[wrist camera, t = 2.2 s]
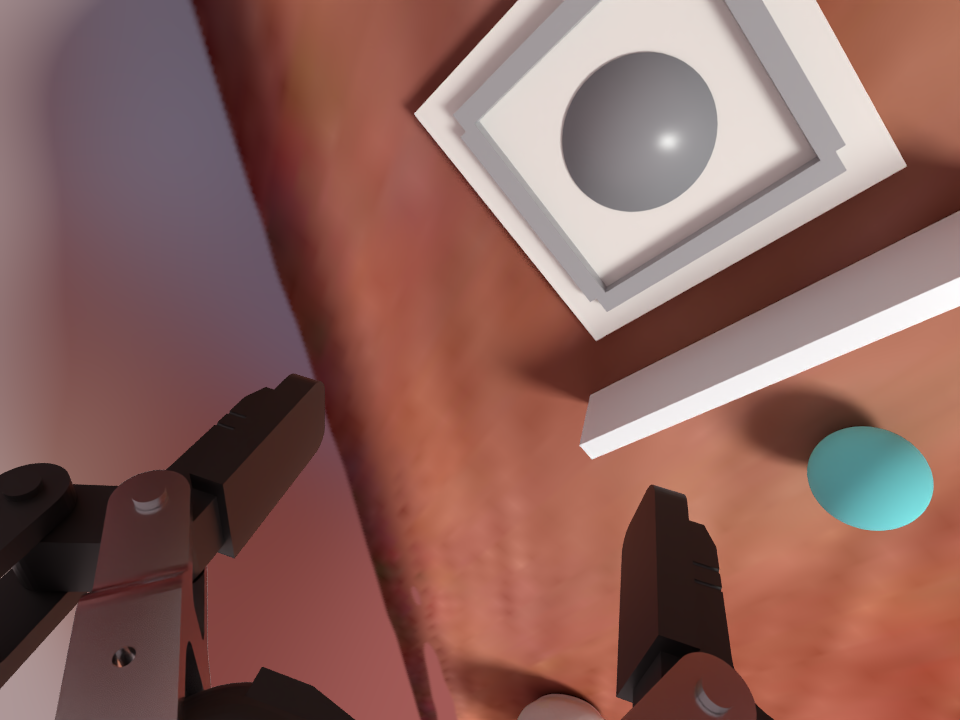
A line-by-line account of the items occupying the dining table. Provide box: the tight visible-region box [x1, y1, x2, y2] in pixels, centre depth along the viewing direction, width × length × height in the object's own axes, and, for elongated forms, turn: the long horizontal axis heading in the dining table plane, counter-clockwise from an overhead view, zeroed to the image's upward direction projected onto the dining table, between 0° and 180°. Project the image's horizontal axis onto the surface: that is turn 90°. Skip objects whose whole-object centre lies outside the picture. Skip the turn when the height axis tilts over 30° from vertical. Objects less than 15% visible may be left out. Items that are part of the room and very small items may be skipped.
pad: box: [414, 0, 907, 341], centre depth 25 cm, size 16×16×2 cm
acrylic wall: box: [580, 211, 960, 459], centre depth 27 cm, size 22×1×5 cm, turn 132°
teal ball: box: [807, 426, 933, 531], centre depth 29 cm, size 6×6×6 cm
